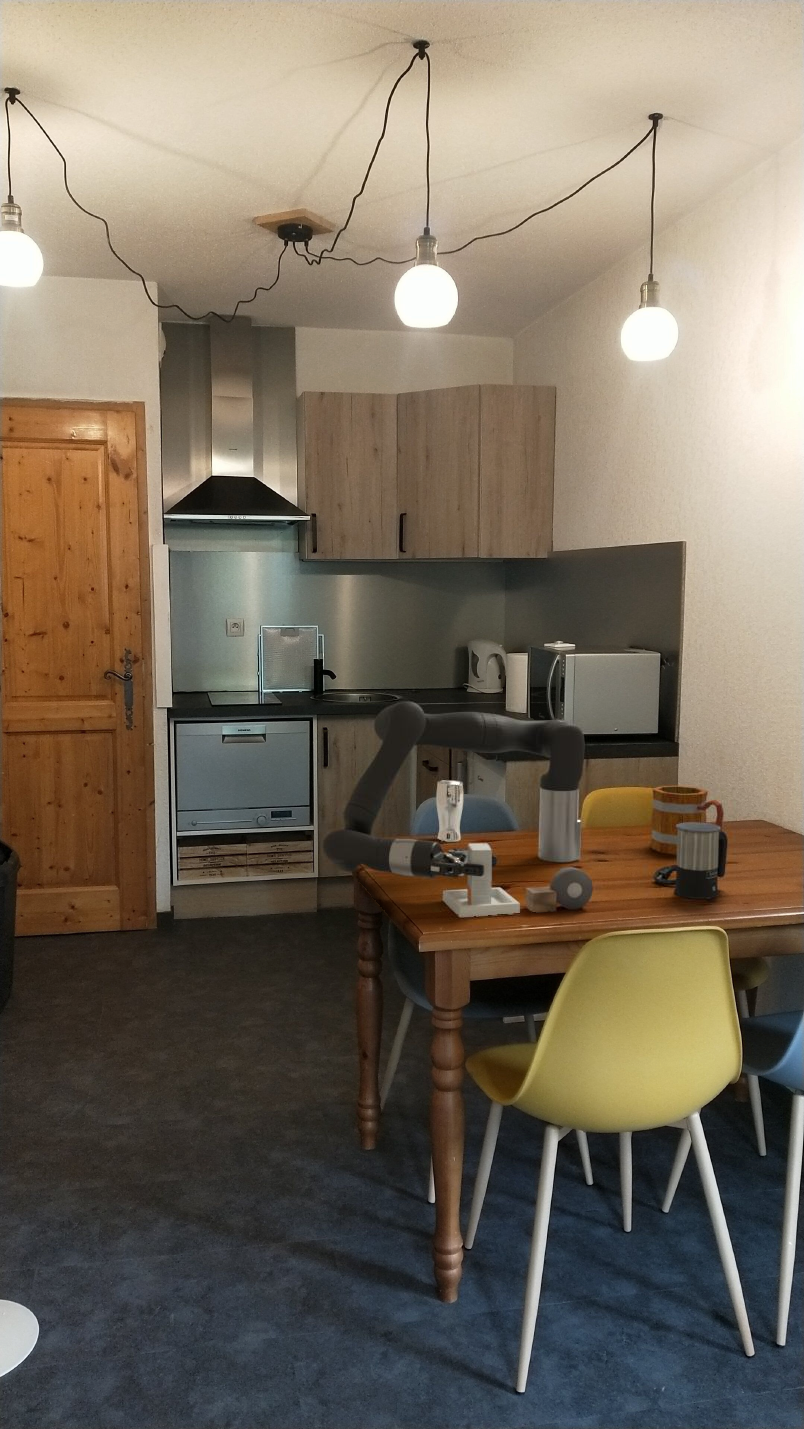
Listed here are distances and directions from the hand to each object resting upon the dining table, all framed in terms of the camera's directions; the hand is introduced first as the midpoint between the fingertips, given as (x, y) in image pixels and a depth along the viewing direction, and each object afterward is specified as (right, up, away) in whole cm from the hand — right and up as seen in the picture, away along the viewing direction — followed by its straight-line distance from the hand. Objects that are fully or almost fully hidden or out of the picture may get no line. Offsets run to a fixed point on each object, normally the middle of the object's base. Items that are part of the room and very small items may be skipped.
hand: (490, 866), depth 221 cm
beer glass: (-6, -2, +63) cm, 63 cm away
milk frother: (+44, -8, +17) cm, 47 cm away
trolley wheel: (+17, -9, +2) cm, 19 cm away
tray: (-2, -9, +2) cm, 9 cm away
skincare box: (-2, -8, +1) cm, 9 cm away
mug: (+54, -4, +53) cm, 75 cm away
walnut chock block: (+10, -9, +1) cm, 14 cm away
